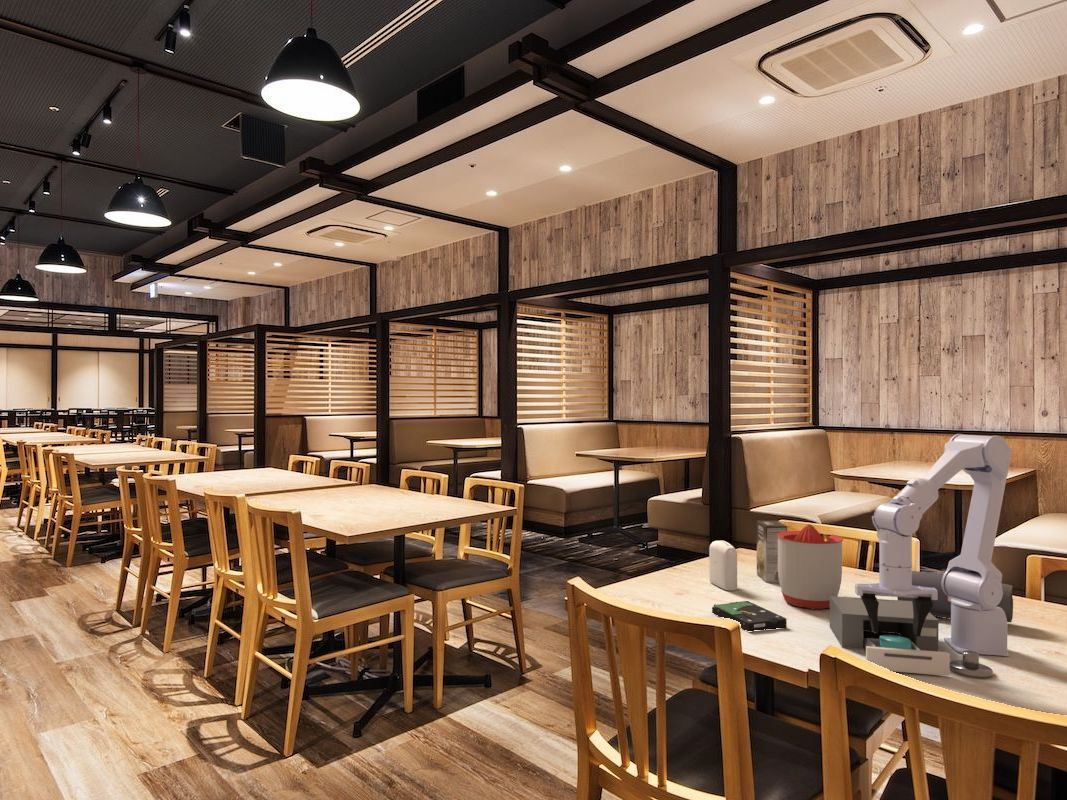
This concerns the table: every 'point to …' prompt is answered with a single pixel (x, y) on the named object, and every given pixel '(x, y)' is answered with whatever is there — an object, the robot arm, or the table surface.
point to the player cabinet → (879, 622)
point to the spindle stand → (970, 666)
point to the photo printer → (723, 565)
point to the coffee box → (768, 549)
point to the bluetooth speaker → (942, 604)
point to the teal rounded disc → (895, 642)
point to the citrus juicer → (809, 567)
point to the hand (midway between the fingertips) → (895, 633)
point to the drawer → (907, 658)
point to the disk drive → (750, 615)
